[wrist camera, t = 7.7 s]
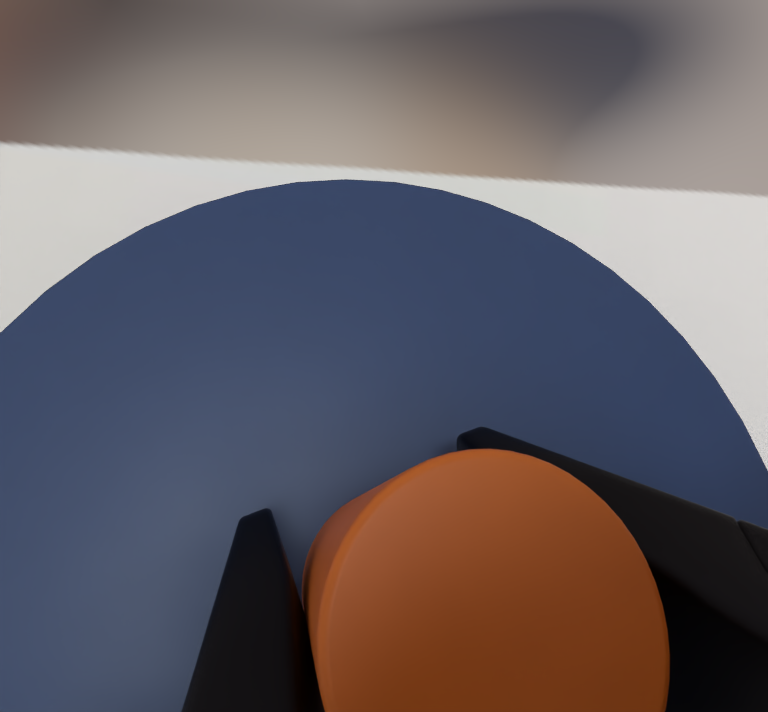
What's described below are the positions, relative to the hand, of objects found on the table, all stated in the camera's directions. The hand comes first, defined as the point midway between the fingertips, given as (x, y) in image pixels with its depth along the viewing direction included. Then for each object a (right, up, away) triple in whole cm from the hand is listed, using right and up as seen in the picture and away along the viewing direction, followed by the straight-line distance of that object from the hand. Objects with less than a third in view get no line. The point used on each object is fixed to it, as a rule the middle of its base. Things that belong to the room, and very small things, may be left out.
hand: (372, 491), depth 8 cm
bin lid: (0, -2, +1) cm, 2 cm away
